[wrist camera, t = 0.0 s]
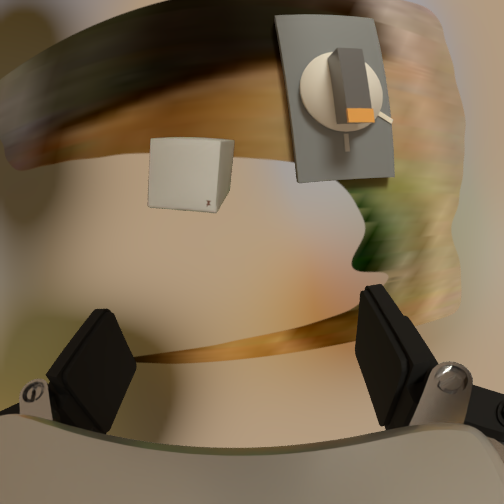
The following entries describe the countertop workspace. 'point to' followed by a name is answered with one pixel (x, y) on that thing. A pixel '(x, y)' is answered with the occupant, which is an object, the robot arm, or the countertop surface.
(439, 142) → the countertop surface
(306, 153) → the dial base
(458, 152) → the countertop surface
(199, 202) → the supplement box
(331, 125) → the dial
